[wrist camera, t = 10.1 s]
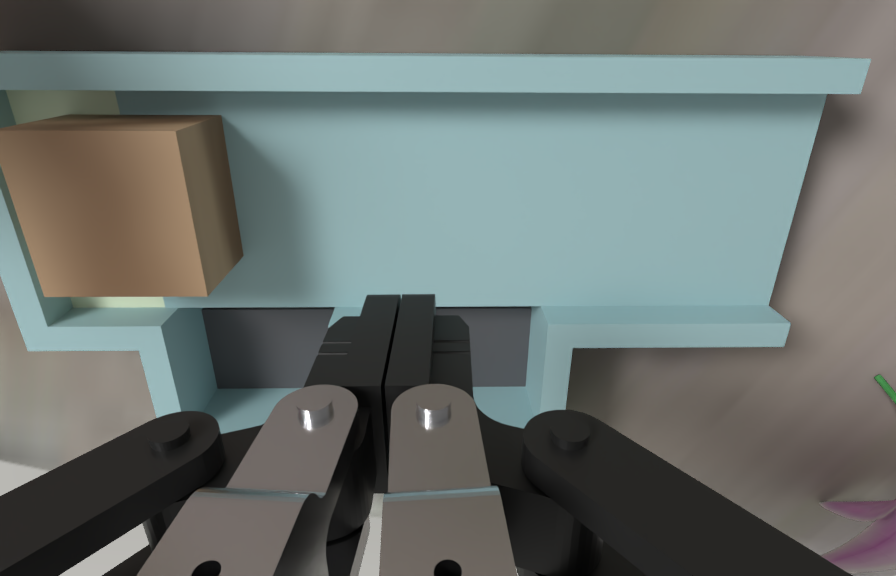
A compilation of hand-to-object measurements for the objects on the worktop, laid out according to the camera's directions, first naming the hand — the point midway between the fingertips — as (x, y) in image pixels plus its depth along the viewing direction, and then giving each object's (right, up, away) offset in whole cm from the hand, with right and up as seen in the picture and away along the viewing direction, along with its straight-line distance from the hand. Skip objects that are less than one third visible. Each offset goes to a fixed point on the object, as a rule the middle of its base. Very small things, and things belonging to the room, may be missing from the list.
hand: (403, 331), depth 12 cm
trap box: (0, +2, +10) cm, 10 cm away
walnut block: (-9, +4, +7) cm, 12 cm away
